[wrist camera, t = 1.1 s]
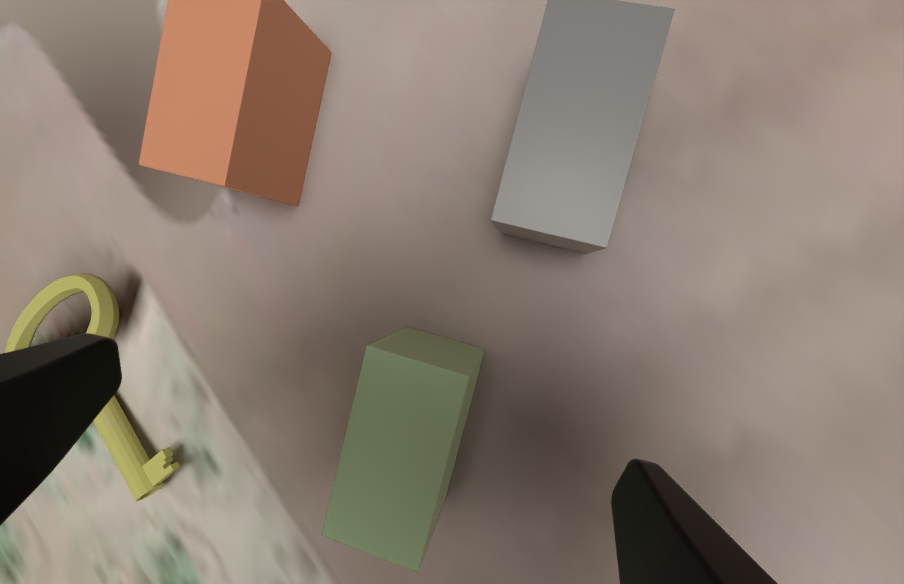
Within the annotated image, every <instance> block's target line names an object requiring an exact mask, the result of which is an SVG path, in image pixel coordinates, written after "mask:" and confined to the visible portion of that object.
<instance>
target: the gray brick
mask: <svg viewBox="0 0 904 584" xmlns="http://www.w3.org/2000/svg"><path fill="white" fill-rule="evenodd" d="M674 10H675V9H672V8H665V7H658V6H651V5H645V4H638V3H631V2H624V1H618V0H548V1H547V5H546V9H545V13H544V17H543V21H542V24H541V28H540V32H539V36H538V40H537V44H536V48H535V52H534V55H533V59H532V63H531V67H530V71H529V75H528V79H527V82H526V86H525V90H524V94H523V98H522V102H521V106H520V110H519V113H518V117H517V121H516V125H515V129H514V133H513V137H512V141H511V144H510V148H509V152H508V156H507V160H506V164H505V168H504V171H503V175H502V179H501V183H500V187H499V191H498V195H497V199H496V202H495V206H494V210H493V214H492V218H491V221H492V222H493V223H494V225H495V226H496V227H497V228H498V230H499V231H500V232H501V233H502V234H507V235H511V236H515V237H519V238H523V239H527V240H531V241H535V242H540V243H544V244H548V245H552V246H556V247H560V248H564V249H568V250H573V251H577V252H581V253H585V254H587V253H590V252H594V251H597V250H600V249H604V248H607V245H608V241H609V238H610V234H611V231H612V227H613V224H614V220H615V217H616V213H617V210H618V206H619V203H620V199H621V196H622V192H623V189H624V185H625V182H626V178H627V175H628V171H629V168H630V164H631V161H632V157H633V154H634V150H635V147H636V143H637V140H638V136H639V133H640V129H641V126H642V122H643V119H644V115H645V112H646V108H647V105H648V101H649V98H650V94H651V91H652V87H653V84H654V80H655V77H656V73H657V70H658V66H659V63H660V59H661V56H662V52H663V49H664V45H665V42H666V38H667V35H668V31H669V28H670V24H671V21H672V17H673V14H674Z"/></svg>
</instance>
